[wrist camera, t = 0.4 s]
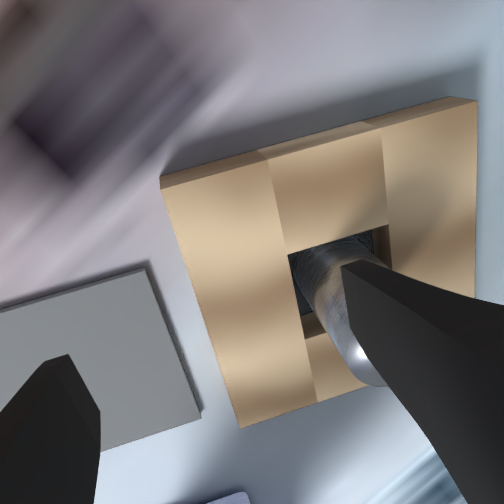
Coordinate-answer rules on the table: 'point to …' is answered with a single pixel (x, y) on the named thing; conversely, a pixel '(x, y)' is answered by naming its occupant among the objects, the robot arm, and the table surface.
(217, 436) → the table surface
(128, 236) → the table surface
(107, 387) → the rubber pad
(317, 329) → the pocket block
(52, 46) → the table surface
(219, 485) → the table surface
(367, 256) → the steel cylinder
